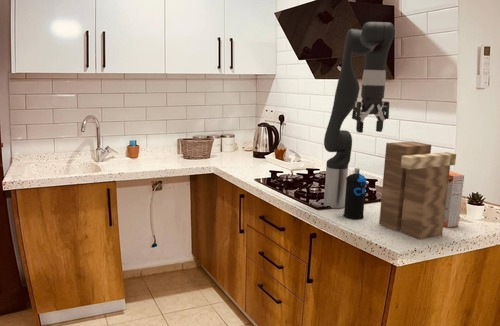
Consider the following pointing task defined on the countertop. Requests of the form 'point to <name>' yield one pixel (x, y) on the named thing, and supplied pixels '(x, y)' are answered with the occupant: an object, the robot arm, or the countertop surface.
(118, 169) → the countertop surface
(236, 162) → the countertop surface
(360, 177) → the aerosol can
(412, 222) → the brown stepped wooden block
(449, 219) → the cracker box
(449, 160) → the maple bar
